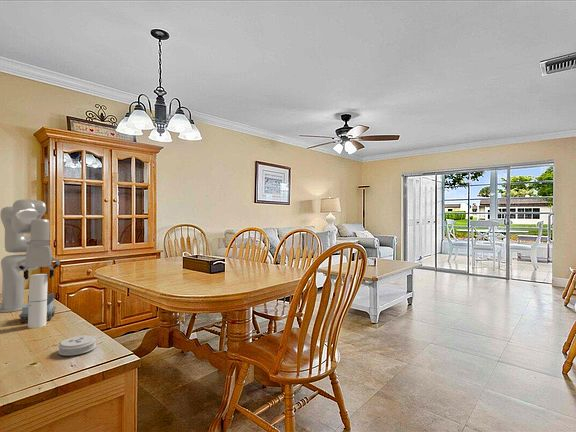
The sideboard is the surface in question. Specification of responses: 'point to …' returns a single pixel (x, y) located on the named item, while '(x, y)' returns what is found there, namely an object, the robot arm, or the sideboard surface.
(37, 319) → the cylindrical container
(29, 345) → the sideboard surface
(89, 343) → the lid
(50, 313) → the grey open box
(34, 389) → the sideboard surface
